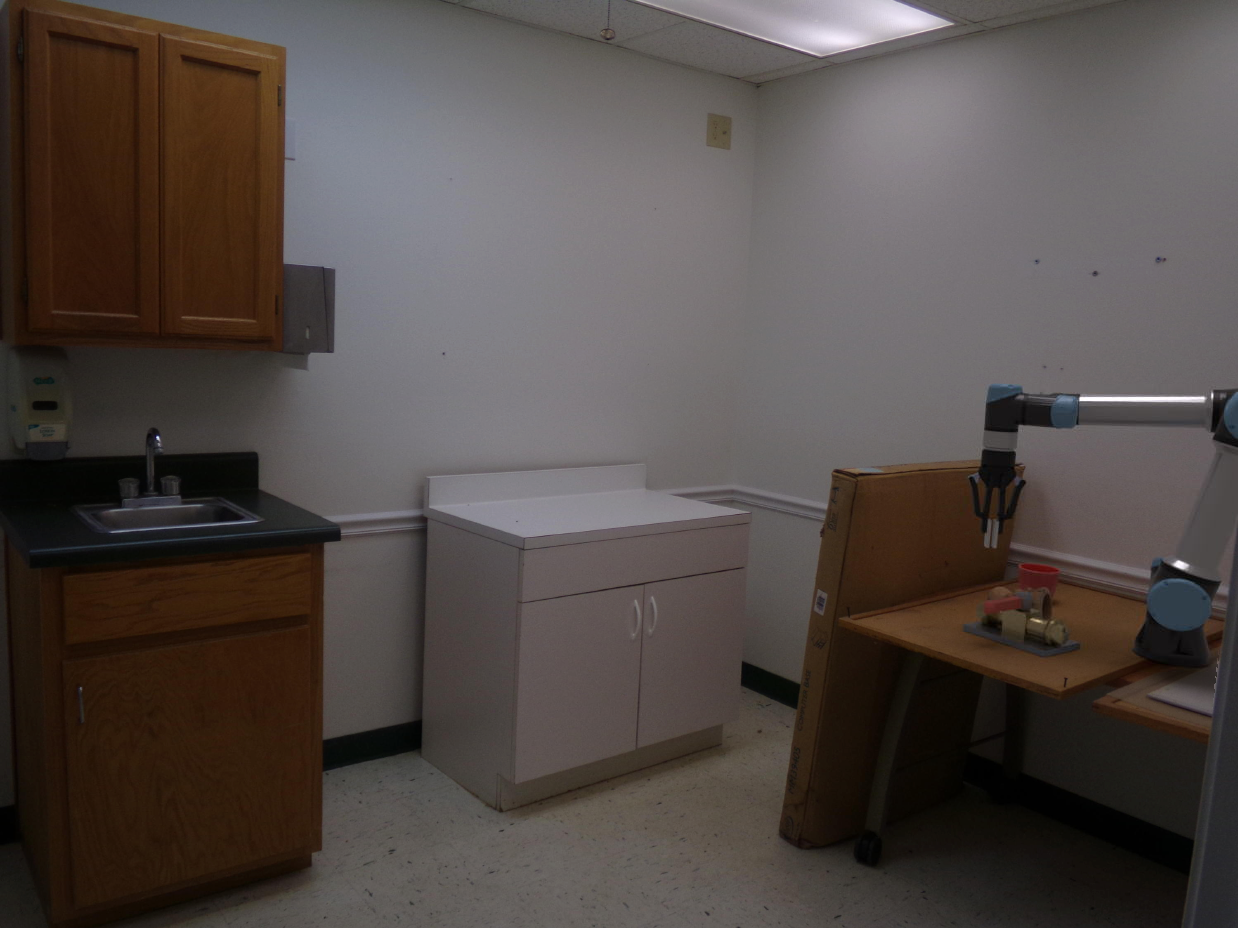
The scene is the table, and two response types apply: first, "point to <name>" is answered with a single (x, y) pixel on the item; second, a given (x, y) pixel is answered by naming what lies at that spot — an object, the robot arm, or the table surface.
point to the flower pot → (1038, 577)
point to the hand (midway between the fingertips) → (990, 546)
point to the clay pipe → (1039, 598)
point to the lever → (1009, 603)
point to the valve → (1024, 631)
